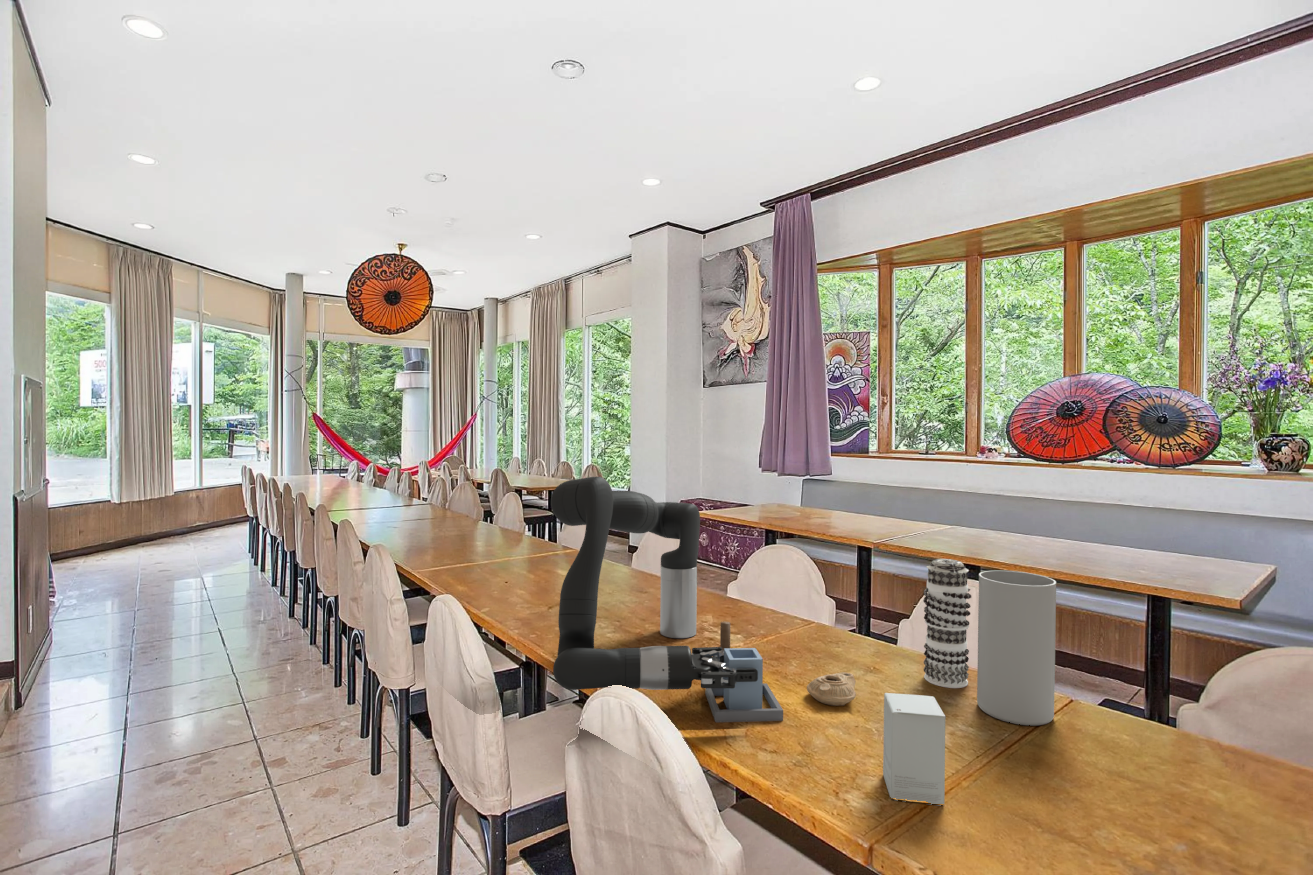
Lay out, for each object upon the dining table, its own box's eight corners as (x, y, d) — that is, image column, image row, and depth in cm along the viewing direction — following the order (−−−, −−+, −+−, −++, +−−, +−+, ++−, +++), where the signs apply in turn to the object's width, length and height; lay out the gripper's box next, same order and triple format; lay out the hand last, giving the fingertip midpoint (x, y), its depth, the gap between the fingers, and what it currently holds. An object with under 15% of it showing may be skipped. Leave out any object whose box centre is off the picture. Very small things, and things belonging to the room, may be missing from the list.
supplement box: (945, 807, 90) (947, 716, 90) (889, 800, 91) (890, 711, 91) (934, 779, 97) (935, 695, 97) (882, 773, 98) (883, 690, 98)
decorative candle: (976, 679, 136) (978, 560, 135) (961, 692, 129) (963, 567, 129) (931, 668, 142) (933, 554, 142) (915, 680, 135) (917, 560, 135)
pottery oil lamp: (871, 694, 127) (877, 669, 123) (836, 731, 120) (841, 706, 116) (833, 668, 132) (837, 643, 129) (797, 702, 125) (801, 677, 122)
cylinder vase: (1026, 733, 112) (1028, 589, 112) (962, 705, 123) (964, 574, 123) (1069, 718, 118) (1071, 581, 117) (1004, 693, 129) (1006, 568, 128)
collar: (723, 701, 122) (724, 648, 122) (754, 700, 123) (755, 647, 122) (729, 715, 116) (729, 659, 116) (762, 714, 117) (762, 659, 116)
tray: (705, 698, 125) (705, 684, 125) (766, 697, 126) (766, 683, 126) (715, 727, 113) (715, 711, 113) (783, 725, 114) (783, 710, 114)
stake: (699, 678, 135) (700, 616, 135) (742, 677, 136) (743, 616, 136) (706, 696, 126) (706, 630, 126) (751, 695, 127) (752, 629, 127)
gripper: (668, 660, 111) (761, 659, 112) (661, 634, 125) (744, 633, 126) (667, 704, 111) (761, 702, 112) (661, 673, 125) (744, 671, 127)
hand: (752, 665), depth 119 cm, fingers open, 8 cm apart
